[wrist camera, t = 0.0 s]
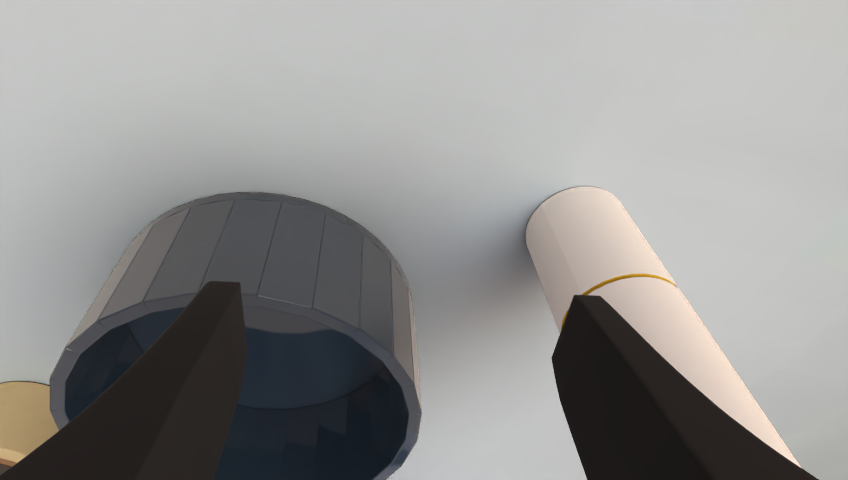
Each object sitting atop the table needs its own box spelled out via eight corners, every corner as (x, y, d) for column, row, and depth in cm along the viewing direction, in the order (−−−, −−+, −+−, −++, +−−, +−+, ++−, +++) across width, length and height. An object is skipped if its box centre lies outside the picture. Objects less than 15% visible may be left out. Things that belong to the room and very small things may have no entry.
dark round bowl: (400, 406, 30) (404, 516, 25) (146, 403, 28) (98, 520, 23) (427, 201, 22) (441, 301, 17) (83, 181, 21) (-8, 285, 16)
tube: (504, 238, 23) (642, 660, 11) (580, 167, 22) (839, 578, 10) (570, 283, 25) (750, 690, 13) (645, 221, 23) (933, 626, 11)
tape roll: (102, 445, 30) (72, 511, 27) (-2, 444, 29) (-45, 512, 26) (78, 381, 27) (40, 448, 24) (-39, 379, 26) (-92, 448, 23)
